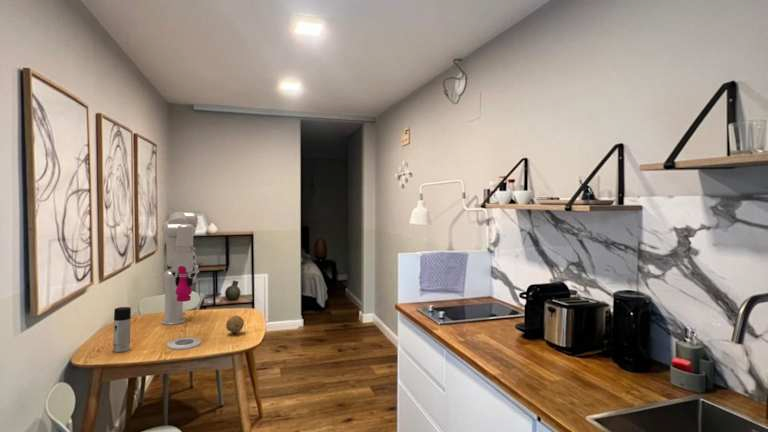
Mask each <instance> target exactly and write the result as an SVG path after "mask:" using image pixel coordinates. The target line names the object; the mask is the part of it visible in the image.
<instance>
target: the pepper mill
mask: <svg viewBox="0 0 768 432" xmlns="http://www.w3.org/2000/svg"><path fill="white" fill-rule="evenodd" d="M178 272H179V278H180V279H179V284H178V286H177V288H176V294H177V296H178V297H177V301H179V302H183V303H184V302H185V303H186V302H188V301H191V294H192V291H193V289H192V286H188V278H189V276H188V273H186V268H185V267H184V266H180V267H179V268H178Z"/></svg>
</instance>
